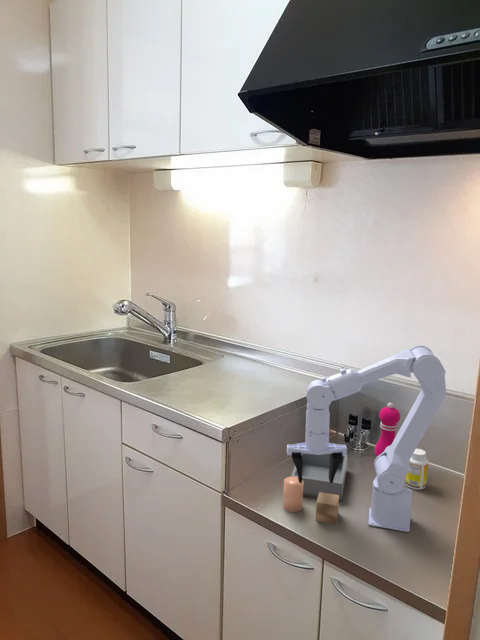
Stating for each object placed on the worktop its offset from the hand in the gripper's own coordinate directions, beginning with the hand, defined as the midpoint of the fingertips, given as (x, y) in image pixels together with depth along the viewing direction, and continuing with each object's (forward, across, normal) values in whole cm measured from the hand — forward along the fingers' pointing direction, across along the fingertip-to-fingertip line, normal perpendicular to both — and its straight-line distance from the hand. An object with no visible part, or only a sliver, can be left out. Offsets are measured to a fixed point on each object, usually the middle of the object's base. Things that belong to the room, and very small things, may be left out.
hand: (315, 480), depth 125 cm
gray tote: (+9, -4, -16) cm, 18 cm away
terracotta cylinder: (+9, +5, -3) cm, 10 cm away
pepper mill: (+9, -26, -26) cm, 38 cm away
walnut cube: (+9, -3, +2) cm, 9 cm away
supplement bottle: (+9, -31, -14) cm, 35 cm away
